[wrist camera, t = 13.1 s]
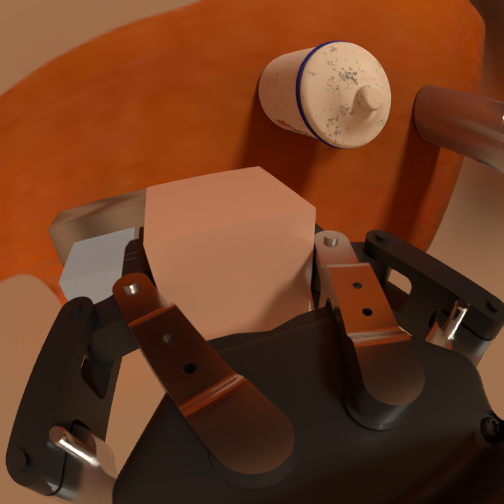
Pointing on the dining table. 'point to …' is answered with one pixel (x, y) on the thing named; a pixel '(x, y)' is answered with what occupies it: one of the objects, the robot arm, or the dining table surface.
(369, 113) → the teacup with lid
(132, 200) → the walnut plinth
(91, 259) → the slate block
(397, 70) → the dining table surface
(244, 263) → the terracotta block
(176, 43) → the dining table surface
